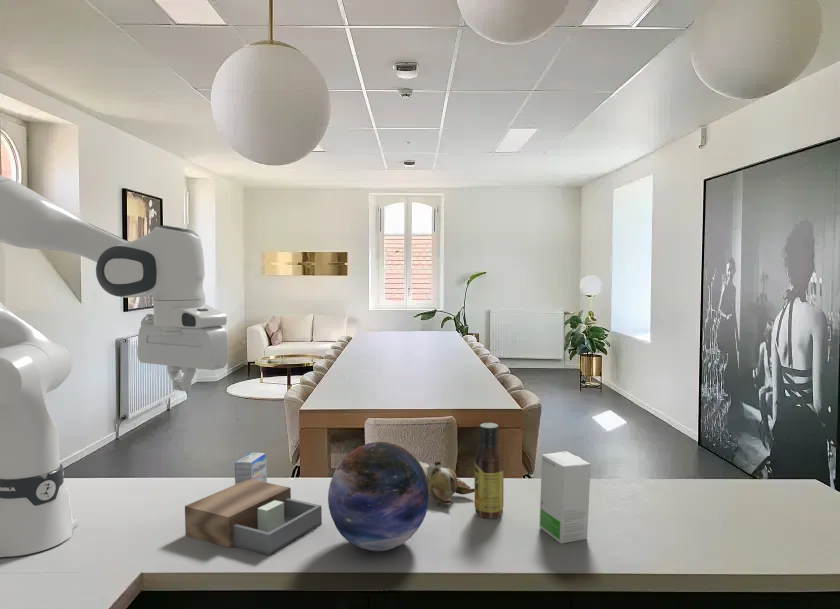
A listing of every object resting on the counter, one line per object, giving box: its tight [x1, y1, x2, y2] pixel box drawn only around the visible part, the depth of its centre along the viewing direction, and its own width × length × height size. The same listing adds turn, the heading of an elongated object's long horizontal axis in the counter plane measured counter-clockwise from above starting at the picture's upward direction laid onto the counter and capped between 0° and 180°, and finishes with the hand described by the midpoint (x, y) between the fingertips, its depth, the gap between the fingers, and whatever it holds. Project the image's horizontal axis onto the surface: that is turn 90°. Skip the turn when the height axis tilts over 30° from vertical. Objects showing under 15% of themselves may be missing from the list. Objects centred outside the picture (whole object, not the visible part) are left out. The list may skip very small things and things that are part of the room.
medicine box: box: [234, 452, 268, 485], centre depth 148 cm, size 8×4×9 cm, turn 168°
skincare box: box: [539, 450, 591, 545], centre depth 125 cm, size 8×7×16 cm
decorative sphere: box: [327, 441, 430, 552], centre depth 119 cm, size 19×20×20 cm
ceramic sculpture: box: [416, 459, 475, 505], centre depth 145 cm, size 11×9×15 cm
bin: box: [233, 498, 323, 557], centre depth 125 cm, size 9×16×4 cm, turn 152°
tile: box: [257, 500, 284, 532], centre depth 126 cm, size 5×5×2 cm
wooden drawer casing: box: [184, 479, 292, 549], centre depth 130 cm, size 12×18×6 cm, turn 152°
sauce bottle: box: [473, 422, 505, 519], centre depth 134 cm, size 7×6×20 cm
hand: (182, 390), depth 114 cm, fingers closed
